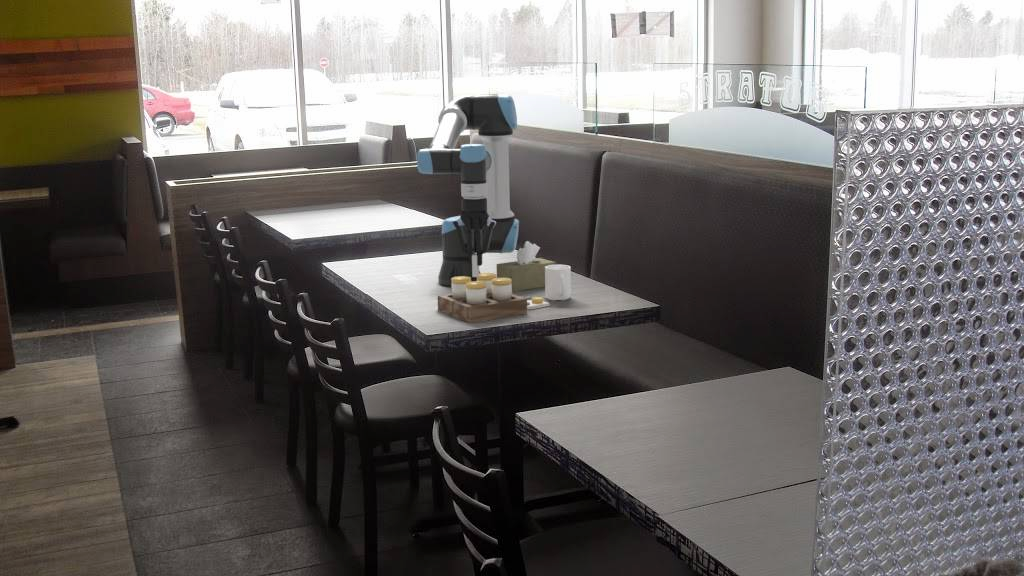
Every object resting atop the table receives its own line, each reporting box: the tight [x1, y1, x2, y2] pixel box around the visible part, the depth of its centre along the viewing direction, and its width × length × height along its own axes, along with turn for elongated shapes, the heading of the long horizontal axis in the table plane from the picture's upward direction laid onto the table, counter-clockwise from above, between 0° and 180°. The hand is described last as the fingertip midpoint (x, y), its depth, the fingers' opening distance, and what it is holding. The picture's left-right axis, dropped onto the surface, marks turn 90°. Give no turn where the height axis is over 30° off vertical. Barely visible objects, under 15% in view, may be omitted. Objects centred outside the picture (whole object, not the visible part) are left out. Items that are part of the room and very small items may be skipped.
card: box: [522, 295, 550, 311], centre depth 310 cm, size 12×10×2 cm
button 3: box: [477, 272, 497, 296], centre depth 307 cm, size 6×6×6 cm
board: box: [437, 293, 528, 324], centre depth 302 cm, size 20×20×5 cm
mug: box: [544, 264, 572, 301], centre depth 316 cm, size 12×8×10 cm
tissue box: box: [496, 240, 557, 292], centre depth 337 cm, size 19×10×16 cm, turn 123°
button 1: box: [451, 276, 471, 300], centre depth 302 cm, size 6×6×6 cm
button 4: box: [492, 277, 513, 301], centre depth 299 cm, size 6×6×6 cm
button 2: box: [466, 281, 487, 305], centre depth 294 cm, size 6×6×6 cm
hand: (475, 276), depth 293 cm, fingers closed
